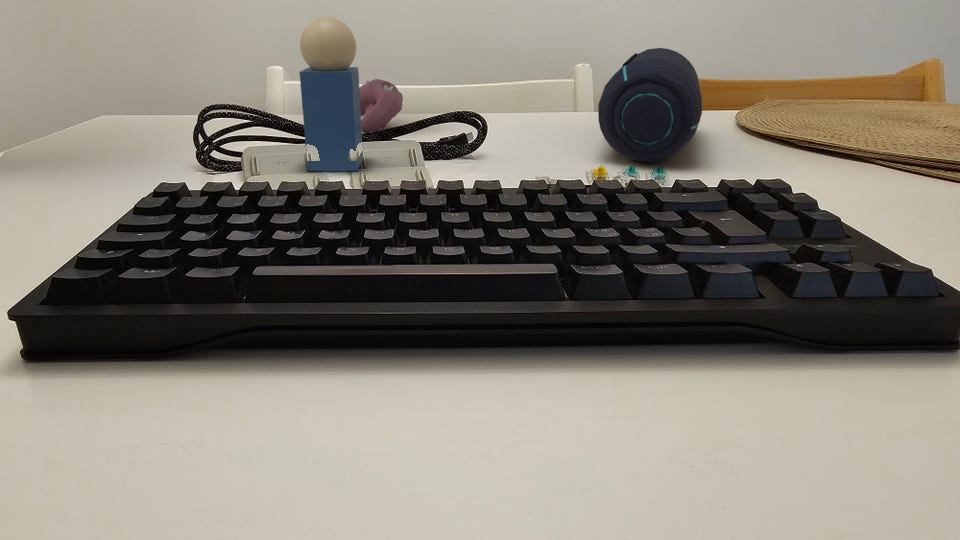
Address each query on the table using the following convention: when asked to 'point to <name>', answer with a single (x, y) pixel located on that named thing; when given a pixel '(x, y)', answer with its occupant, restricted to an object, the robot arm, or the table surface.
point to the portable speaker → (651, 105)
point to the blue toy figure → (330, 94)
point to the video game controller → (378, 104)
